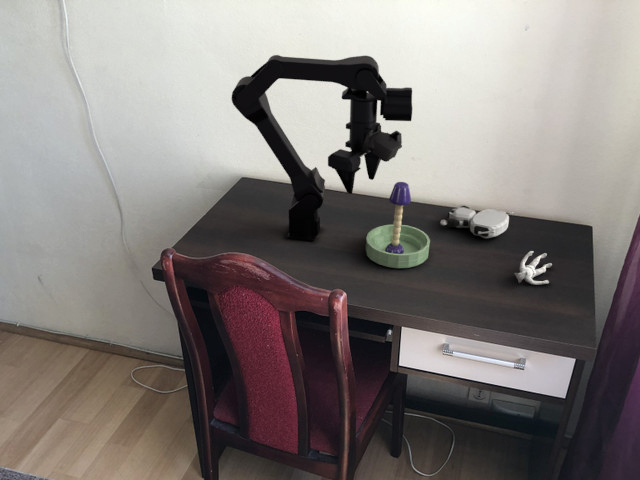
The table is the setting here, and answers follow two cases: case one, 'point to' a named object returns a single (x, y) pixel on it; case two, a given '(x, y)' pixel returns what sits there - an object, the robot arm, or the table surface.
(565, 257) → the table surface
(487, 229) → the robot toy
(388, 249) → the toy lamp
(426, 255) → the bowl
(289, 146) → the robot arm
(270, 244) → the table surface
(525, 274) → the white figurine
